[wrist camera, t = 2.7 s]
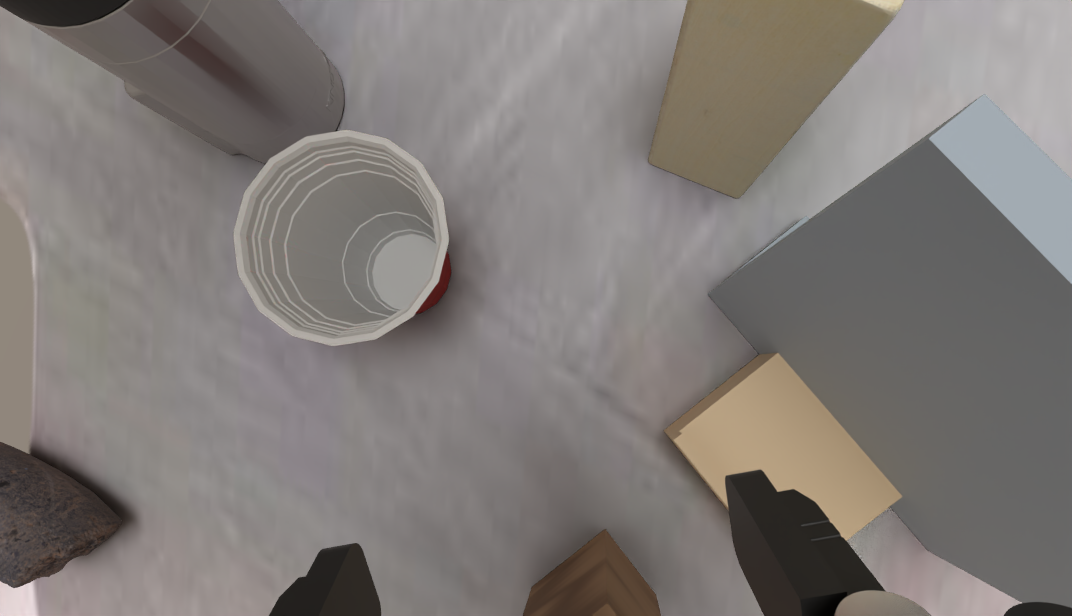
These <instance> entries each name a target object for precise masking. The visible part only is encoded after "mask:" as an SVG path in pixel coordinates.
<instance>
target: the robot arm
mask: <svg viewBox="0 0 1072 616" xmlns="http://www.w3.org/2000/svg"><path fill="white" fill-rule="evenodd" d="M0 6H1V7H3V8H5V9H6V10H8V11H10V12H11V13H13V14H15V15H16V16H18V17H20V18H22V19H23V20H25V21H27V22H28V23H30V24H31V25H33V26H35V27H36V28H38V29H40V30H41V31H43V32H45V33H46V34H48V35H50V36H51V37H53V38H55V39H56V40H58V41H59V42H61V43H63V44H64V45H66V46H68V47H69V48H71V49H73V50H74V51H76V52H78V53H79V54H81V55H83V56H85V57H86V58H88V59H90V60H91V61H93V62H95V63H96V64H98V65H99V66H101V67H103V68H104V69H106V70H108V71H109V72H111V73H113V74H114V75H116V76H118V77H119V78H121V79H122V80H124V84H125V90H126V92H127V93H128V95H129V96H130V97H132V98H133V99H135V100H136V101H138V102H140V103H141V104H143V105H145V106H147V107H148V108H150V109H152V110H154V111H155V112H157V113H159V114H160V115H162V116H164V117H166V118H167V119H169V120H171V121H172V122H174V123H176V124H178V125H179V126H181V127H183V128H185V129H186V130H188V131H190V132H191V133H193V134H195V135H197V136H198V137H200V138H202V139H204V140H205V141H207V142H209V143H210V144H212V145H214V146H216V147H217V148H219V149H221V150H222V151H224V152H226V153H228V154H229V155H234V154H245V155H247V156H249V157H251V158H253V159H255V160H256V161H259V162H263V163H267V162H268V160H269V159H270V158H272V157H273V156H275V155H276V154H278V153H280V152H281V151H283V150H285V149H286V148H288V147H290V146H291V145H293V144H295V143H296V142H298V141H299V140H301V139H303V138H304V137H306V136H312V135H318V134H324V133H330V132H335V131H336V129H337V126H338V124H339V122H340V119H341V117H342V112H343V107H344V90H343V85H342V81H341V78H340V76H339V74H338V72H337V70H336V68H335V67H334V65H333V64H332V63H331V62H330V60H329V59H328V58H327V57H326V55H325V54H324V53H323V51H322V50H320V49H319V48H318V47H317V45H316V44H315V43H314V42H313V41H312V40H311V39H310V37H309V36H308V35H307V34H306V32H305V31H304V30H303V29H302V28H301V27H300V26H299V24H298V23H297V22H296V21H295V20H294V19H293V18H292V16H291V15H290V14H289V13H288V12H287V11H286V9H285V8H284V7H283V6H282V5H281V4H280V3H279V1H278V0H0ZM725 487H726V494H727V502H728V509H729V516H730V524H731V531H732V538H733V543H734V547H735V551H736V555H737V558H738V561H739V564H740V566H741V568H742V571H743V573H744V575H745V577H746V579H747V581H748V583H749V585H750V587H751V589H752V591H753V593H754V595H755V598H756V600H757V602H758V604H759V606H760V608H761V610H762V612H763V614H764V616H931V615H930V614H929V613H928V612H927V611H926V610H925V609H924V608H922V607H921V606H919V605H918V604H916V603H915V602H913V601H911V600H909V599H907V598H905V597H903V596H900V595H897V594H894V593H890V592H886V591H885V590H884V589H883V587H882V586H881V585H880V584H879V582H878V581H877V580H876V578H875V577H874V576H873V575H872V573H871V572H870V571H869V569H868V568H867V567H866V566H865V564H864V563H863V562H862V561H861V559H860V558H859V557H858V555H857V554H856V553H855V552H854V550H853V549H852V548H851V546H850V545H849V544H848V543H847V541H846V540H845V539H844V538H843V537H841V534H840V532H839V531H838V530H837V529H836V527H835V526H834V525H833V524H832V523H830V521H829V518H828V517H827V516H826V515H825V513H824V512H823V511H822V509H821V508H820V507H819V506H818V504H817V503H816V502H815V501H813V500H812V499H810V498H808V497H807V496H805V495H803V494H802V493H800V492H798V491H796V490H795V489H791V490H785V491H779V492H777V490H776V489H775V487H774V486H773V484H772V483H771V482H770V480H769V479H768V477H767V476H766V474H765V473H764V472H763V471H762V470H761V469H759V470H754V471H748V472H743V473H737V474H732V475H726V476H725ZM269 616H381V607H380V601H379V598H378V595H377V592H376V589H375V586H374V583H373V580H372V577H371V574H370V571H369V568H368V565H367V562H366V559H365V556H364V553H363V550H362V548H361V546H360V545H359V544H357V543H353V544H347V545H342V546H336V547H331V548H325V549H322V550H321V551H320V552H319V553H318V555H317V557H316V559H315V561H314V562H313V564H312V566H311V568H310V570H309V572H308V574H307V576H306V577H300V578H298V579H297V580H296V581H295V582H294V583H293V584H292V585H291V586H290V587H289V588H288V589H287V590H286V591H285V592H284V593H283V594H282V595H281V596H280V597H279V599H278V601H277V602H276V604H275V606H274V608H273V609H272V611H271V613H270V615H269ZM1004 616H1072V608H1071V607H1067V606H1063V605H1059V604H1054V603H1048V602H1027V603H1022V604H1018V605H1016V606H1013V607H1012V608H1010V609H1009V610H1008V611H1007V612H1006V613H1005V614H1004Z"/></svg>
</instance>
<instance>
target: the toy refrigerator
mask: <svg viewBox="0 0 1072 616" xmlns="http://www.w3.org/2000/svg"><path fill="white" fill-rule="evenodd" d="M903 2H904V0H688V1H687V5H686V9H685V13H684V17H683V21H682V25H681V29H680V33H679V37H678V41H677V45H676V49H675V54H674V58H673V62H672V66H671V70H670V74H669V78H668V82H667V86H666V90H665V94H664V98H663V101H662V106H661V110H660V114H659V117H658V122H657V126H656V130H655V134H654V138H653V142H652V146H651V150H650V154H649V158H648V161H649V163H650V164H652V165H654V166H657V167H659V168H661V169H664V170H666V171H669V172H671V173H674V174H676V175H679V176H681V177H684V178H686V179H688V180H691V181H694V182H696V183H699V184H701V185H703V186H706V187H709V188H711V189H714V190H716V191H719V192H721V193H724V194H726V195H729V196H731V197H734V198H740V197H741V196H742V195H743V194H744V193H745V191H746V190H747V189H748V188H749V187H750V186H751V184H752V183H753V182H754V181H755V180H756V179H757V178H758V176H759V175H760V174H761V173H762V172H763V171H764V169H765V168H766V167H767V166H768V165H769V163H770V162H771V161H772V160H773V159H774V158H775V156H776V155H777V154H778V153H779V152H780V151H781V149H782V148H783V147H784V146H785V145H786V143H787V142H788V141H789V140H790V139H791V138H792V136H793V135H794V134H795V133H796V132H797V131H798V129H799V128H800V127H801V126H802V125H803V123H804V122H805V121H806V120H807V119H808V118H809V116H810V115H811V114H812V113H813V112H814V111H815V110H816V108H817V107H818V106H819V105H820V104H821V103H822V101H823V100H824V99H825V98H826V97H827V96H828V94H829V93H830V92H831V91H832V90H833V89H834V88H835V87H836V85H837V84H838V83H839V82H840V81H841V80H842V79H843V77H844V76H845V75H846V74H847V73H848V71H849V70H850V69H851V68H852V67H853V65H854V64H855V63H856V62H857V61H858V60H859V58H860V57H861V56H862V55H863V54H864V53H865V52H866V51H867V49H868V48H869V47H870V46H871V45H872V44H873V42H874V41H875V40H876V39H877V38H878V37H879V35H880V34H881V33H882V32H883V31H884V30H885V28H886V27H887V26H888V25H889V24H890V22H891V21H892V20H893V19H894V17H895V16H896V14H897V13H898V11H899V10H900V8H901V6H902V4H903Z"/></svg>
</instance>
